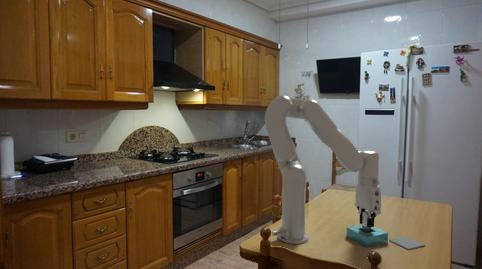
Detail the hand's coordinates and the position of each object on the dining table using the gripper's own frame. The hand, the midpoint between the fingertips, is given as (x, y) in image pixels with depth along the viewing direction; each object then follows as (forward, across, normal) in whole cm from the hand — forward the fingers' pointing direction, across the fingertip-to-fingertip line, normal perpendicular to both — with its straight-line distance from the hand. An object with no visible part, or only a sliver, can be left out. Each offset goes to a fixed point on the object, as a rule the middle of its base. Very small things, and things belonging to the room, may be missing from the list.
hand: (366, 224), depth 127 cm
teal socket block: (+6, 0, 0) cm, 6 cm away
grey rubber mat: (+6, -9, -12) cm, 16 cm away
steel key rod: (+5, 0, 0) cm, 5 cm away
